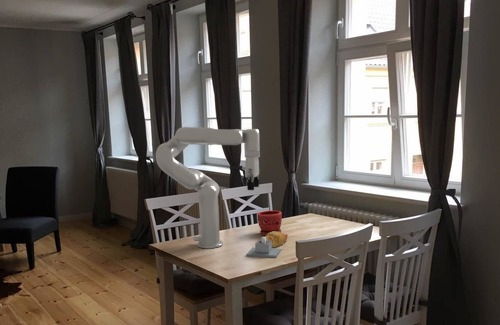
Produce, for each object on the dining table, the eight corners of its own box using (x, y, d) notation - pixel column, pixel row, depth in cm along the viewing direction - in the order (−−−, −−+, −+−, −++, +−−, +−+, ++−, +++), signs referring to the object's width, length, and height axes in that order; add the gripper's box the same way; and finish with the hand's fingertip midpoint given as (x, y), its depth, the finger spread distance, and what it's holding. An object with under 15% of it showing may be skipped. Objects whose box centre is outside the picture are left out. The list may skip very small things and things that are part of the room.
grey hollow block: (255, 253, 210) (255, 243, 210) (258, 249, 216) (258, 239, 216) (269, 253, 208) (268, 244, 208) (271, 249, 215) (271, 240, 214)
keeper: (246, 256, 209) (245, 240, 208) (252, 249, 220) (252, 234, 219) (276, 257, 205) (275, 241, 205) (281, 250, 216) (280, 235, 215)
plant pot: (282, 230, 254) (281, 209, 253) (281, 237, 241) (281, 214, 240) (259, 231, 255) (258, 210, 254) (257, 237, 242) (256, 215, 241)
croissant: (264, 257, 218) (269, 244, 215) (250, 245, 223) (255, 232, 220) (290, 246, 234) (296, 234, 230) (276, 235, 239) (282, 222, 236)
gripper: (249, 152, 233) (250, 185, 235) (239, 155, 217) (241, 191, 218) (263, 152, 231) (264, 185, 233) (255, 155, 215) (256, 191, 216)
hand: (253, 188), depth 226 cm, fingers open, 9 cm apart
